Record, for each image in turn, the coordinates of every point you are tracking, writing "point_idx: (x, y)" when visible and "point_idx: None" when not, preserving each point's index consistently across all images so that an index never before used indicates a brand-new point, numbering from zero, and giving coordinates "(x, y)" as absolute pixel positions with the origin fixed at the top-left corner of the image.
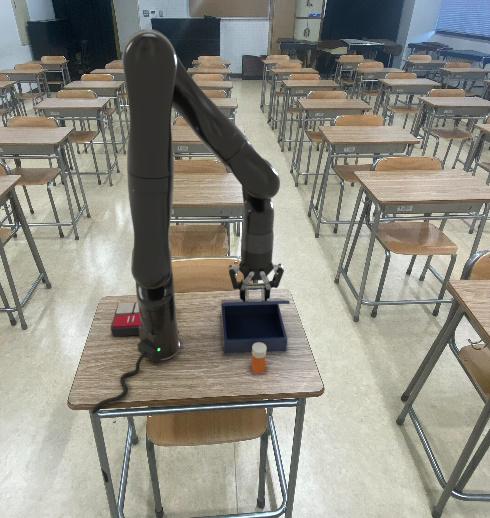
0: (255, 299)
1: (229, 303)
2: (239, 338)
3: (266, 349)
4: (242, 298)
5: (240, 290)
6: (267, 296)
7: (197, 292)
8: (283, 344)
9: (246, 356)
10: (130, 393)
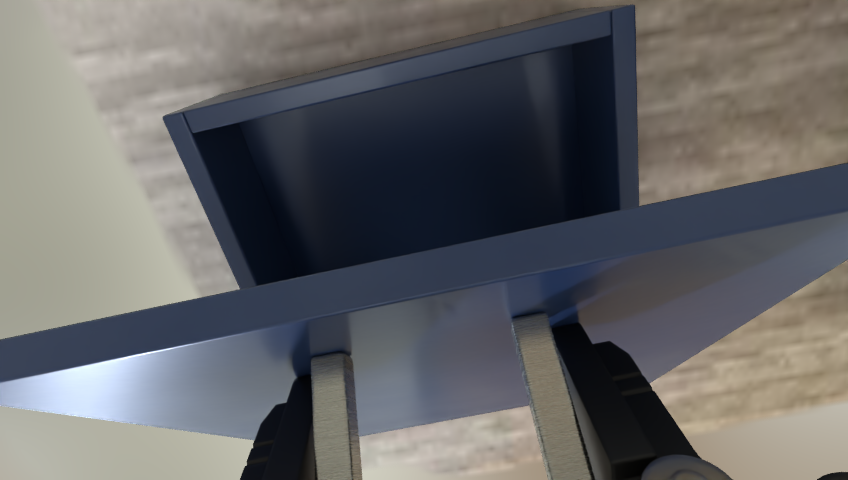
0: (434, 407)
1: (846, 195)
2: (498, 153)
3: (323, 72)
4: (593, 355)
5: (694, 461)
6: (278, 425)
7: (717, 427)
8: (207, 102)
9: (443, 26)
10: None
